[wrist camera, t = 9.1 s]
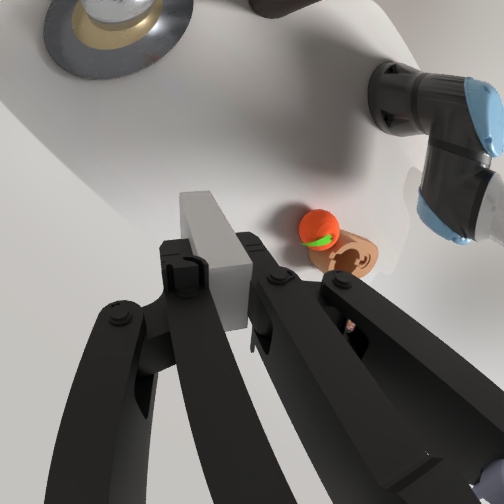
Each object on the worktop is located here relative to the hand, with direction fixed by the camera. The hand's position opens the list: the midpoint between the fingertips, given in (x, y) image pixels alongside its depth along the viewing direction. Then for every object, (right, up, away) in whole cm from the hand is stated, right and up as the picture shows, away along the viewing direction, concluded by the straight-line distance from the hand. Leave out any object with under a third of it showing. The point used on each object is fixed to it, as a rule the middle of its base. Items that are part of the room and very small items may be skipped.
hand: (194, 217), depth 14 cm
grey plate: (-14, +29, +9) cm, 34 cm away
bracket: (+21, -1, +43) cm, 48 cm away
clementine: (+12, +3, +36) cm, 38 cm away
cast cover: (-13, +29, +8) cm, 33 cm away
